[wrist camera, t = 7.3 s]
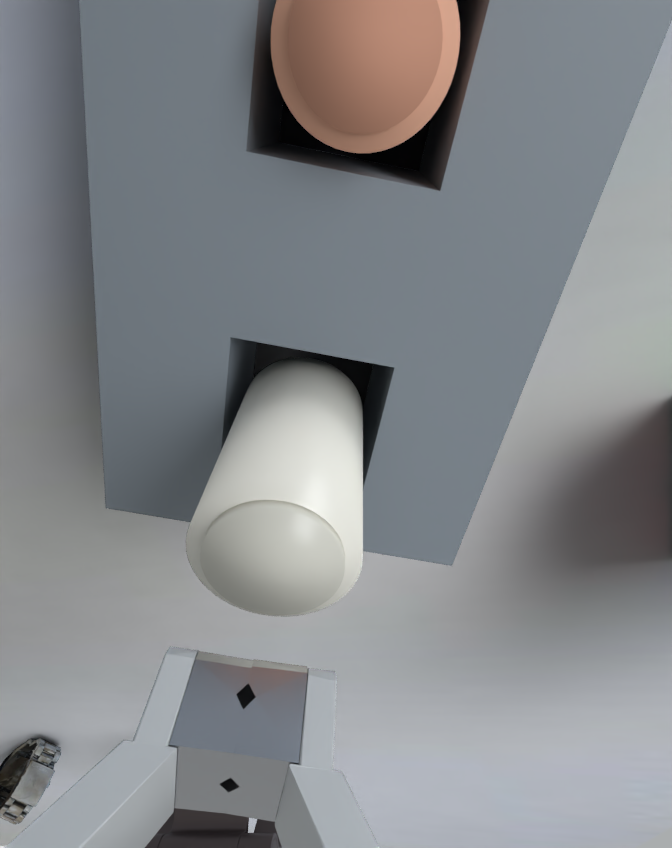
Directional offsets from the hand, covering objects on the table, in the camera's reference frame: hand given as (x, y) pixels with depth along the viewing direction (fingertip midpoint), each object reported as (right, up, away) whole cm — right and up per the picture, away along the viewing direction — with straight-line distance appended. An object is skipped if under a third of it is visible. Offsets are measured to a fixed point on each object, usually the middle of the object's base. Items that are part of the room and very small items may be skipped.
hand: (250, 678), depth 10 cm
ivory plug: (0, +5, +8) cm, 10 cm away
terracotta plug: (+2, +16, +7) cm, 18 cm away
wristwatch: (-20, -20, +30) cm, 41 cm away
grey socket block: (+2, +12, +10) cm, 16 cm away
